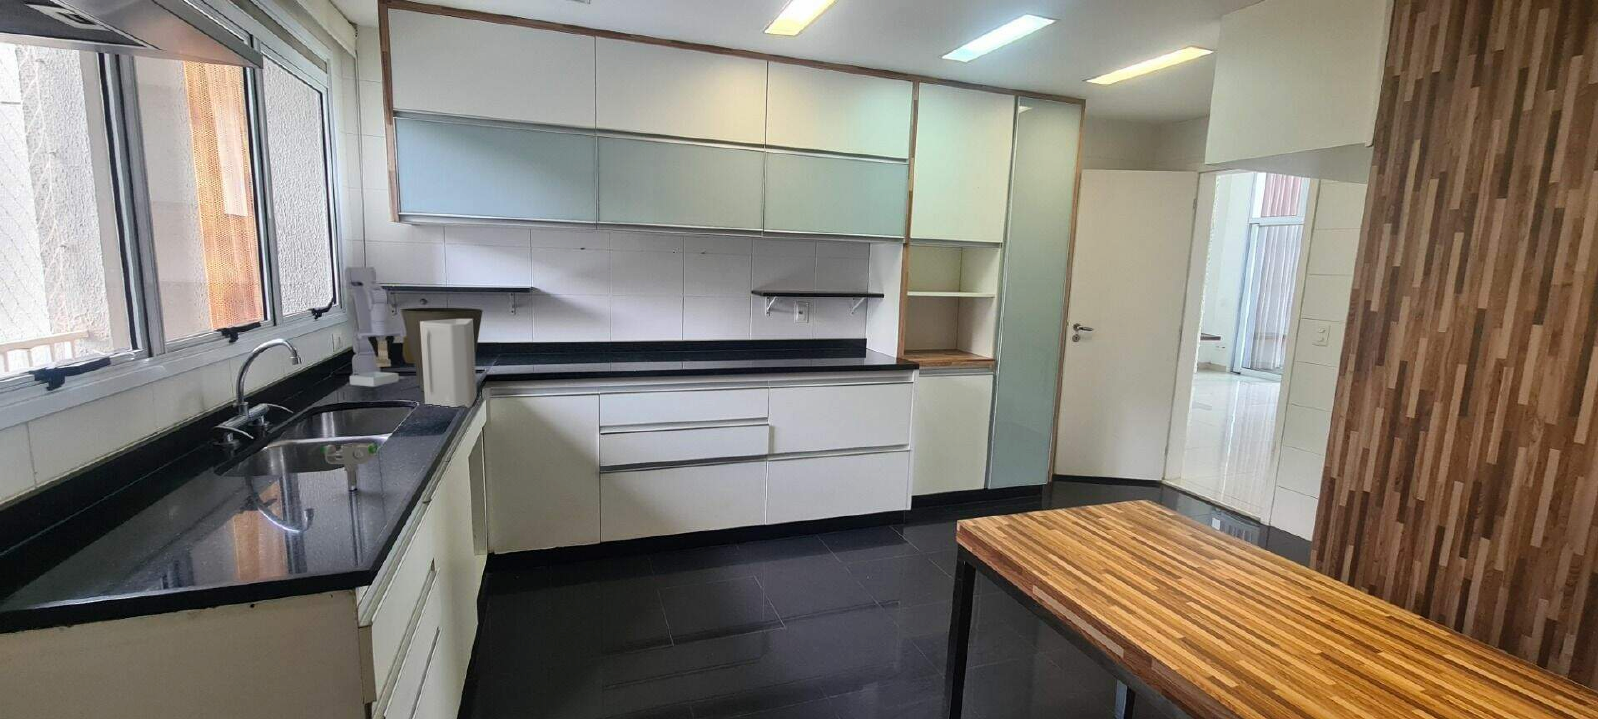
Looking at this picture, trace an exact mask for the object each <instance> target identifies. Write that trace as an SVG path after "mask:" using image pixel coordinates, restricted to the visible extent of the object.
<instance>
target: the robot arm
mask: <svg viewBox="0 0 1598 719" xmlns="http://www.w3.org/2000/svg"><path fill="white" fill-rule="evenodd" d="M344 279H345V285H346V286H347V287H346V288H347V289H349V290H351V291H352V294H353V298H354V303H355V311H356V317H357V324H358V330H357V331H356V332H355V333H353V334H352V337H351V340H352V342H351V343H352V344H351V345H352V350H353V352H354V353H355V354H354V355H353V356H352V359H351V364H352V373H351V375H350V376H353V375H359V374H364V373H369V372H381V367H377V366H376V363H375V359H378V358H377V357H378V348H377V340H383V338H384V340H387V352H388V357H389V356H390V352H391V349H392V346H393V343H394V342H395V339H396V338H398V337H403V338H404V331H402V330H399V331H397V330H395V331H394V330H393V331H390V322H389V321H390V320H389V308H388V305H389V304H390V293H389V290H388V289H385V288H384V289H383V288H382V286H381V284H380V283H379V282H378V281H377V272H376V269H375V268H374V266H370V267H369V266H368V267H365V266H364V267H359V266H357V267H354V266H353V267H351V266H350V267H349V266H346V268H345V269H344Z"/></svg>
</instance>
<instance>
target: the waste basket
mask: <svg viewBox="0 0 1598 719" xmlns="http://www.w3.org/2000/svg"><path fill="white" fill-rule="evenodd" d="M400 311H401V315H402V320H403V323H404V324H403V325H404V329H405V334H406V333H407V337H408V341H409V345H410V349H411V353H412V357H413V361H414V364H413V366H414V369H415V373H416V378H417V382H418V386H419V390H420V391H422V392H424V378H423V362H422V346H421V330H420V322H421V321H434V320H448V319H473V333H474V352H475V356H476V354H477V348H478V342H479V334H480V330H481V323H482V317H483V312H484V309H481V308H474V307H473V308H472V307H471V308H470V307H469V308H467V307H411V308H410V307H409V308H401V309H400Z"/></svg>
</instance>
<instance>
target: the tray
mask: <svg viewBox="0 0 1598 719" xmlns="http://www.w3.org/2000/svg"><path fill="white" fill-rule="evenodd" d="M398 376H399V373H397V372H396V373H395V372H384V371H380V372H369V373H364V374H354V375H349V385H351V386H361V387H369V388H370V387H372V388H374V387H379V386H383V385H384V386H385V385H388V384H393V383H394V384H395V383H399V381H400V379H398Z"/></svg>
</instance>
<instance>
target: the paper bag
mask: <svg viewBox="0 0 1598 719" xmlns="http://www.w3.org/2000/svg"><path fill="white" fill-rule="evenodd" d="M420 330H421V346H422V362H423V378H424V391H423V392H424V393H423V394H424V404H433V405H441V406H450V407H458V406H461V405H465V406H466V407H467V408H466V409H468V408H472V406H473V404H474V403H475V400H476V399H477V374H476V355H475V352H474V333H473V319H448V320H434V321H421V322H420Z"/></svg>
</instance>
